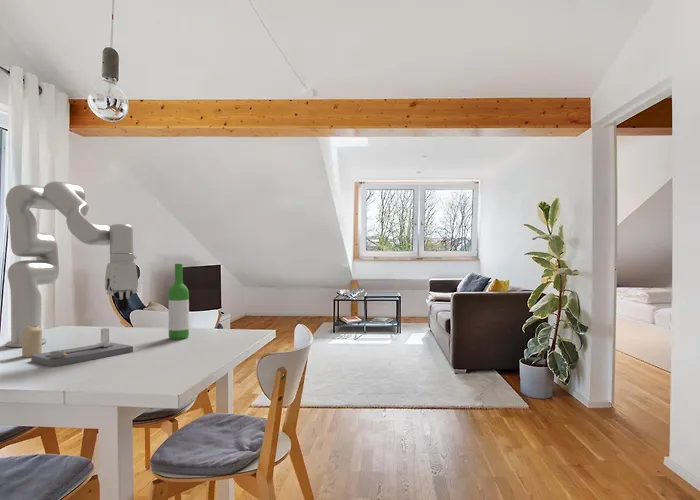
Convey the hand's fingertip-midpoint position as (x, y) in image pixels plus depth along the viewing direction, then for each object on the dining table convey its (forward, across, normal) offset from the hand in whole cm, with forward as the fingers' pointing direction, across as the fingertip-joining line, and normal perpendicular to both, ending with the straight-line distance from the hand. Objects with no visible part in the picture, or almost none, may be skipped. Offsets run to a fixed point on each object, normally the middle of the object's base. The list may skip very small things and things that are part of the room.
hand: (122, 310), depth 169 cm
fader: (+11, +6, -1) cm, 13 cm away
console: (+14, +13, -1) cm, 19 cm away
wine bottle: (+14, -26, -4) cm, 30 cm away
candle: (+14, +22, -17) cm, 31 cm away
